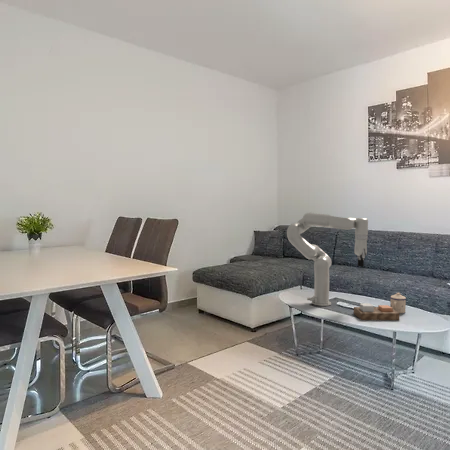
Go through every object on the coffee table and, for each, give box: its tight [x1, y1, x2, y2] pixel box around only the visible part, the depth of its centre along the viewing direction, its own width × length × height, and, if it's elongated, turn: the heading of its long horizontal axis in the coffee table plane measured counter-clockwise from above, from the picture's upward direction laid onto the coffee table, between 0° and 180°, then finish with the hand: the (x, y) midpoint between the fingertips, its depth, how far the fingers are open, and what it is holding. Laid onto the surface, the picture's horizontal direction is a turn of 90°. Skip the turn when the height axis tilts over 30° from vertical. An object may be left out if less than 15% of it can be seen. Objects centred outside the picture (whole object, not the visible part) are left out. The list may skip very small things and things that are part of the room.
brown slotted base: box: [353, 306, 401, 321], centre depth 228 cm, size 22×13×4 cm, turn 90°
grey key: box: [359, 302, 375, 312], centre depth 228 cm, size 6×6×5 cm
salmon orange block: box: [377, 304, 393, 312], centre depth 228 cm, size 6×6×5 cm
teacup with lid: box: [389, 292, 407, 314], centre depth 238 cm, size 12×9×12 cm
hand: (360, 266), depth 246 cm, fingers closed
